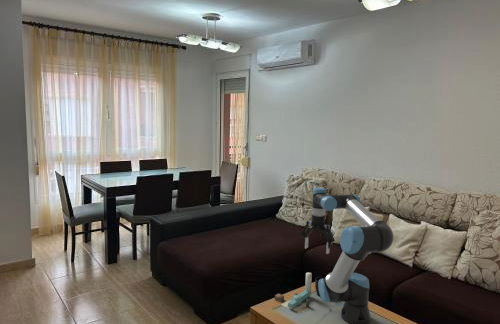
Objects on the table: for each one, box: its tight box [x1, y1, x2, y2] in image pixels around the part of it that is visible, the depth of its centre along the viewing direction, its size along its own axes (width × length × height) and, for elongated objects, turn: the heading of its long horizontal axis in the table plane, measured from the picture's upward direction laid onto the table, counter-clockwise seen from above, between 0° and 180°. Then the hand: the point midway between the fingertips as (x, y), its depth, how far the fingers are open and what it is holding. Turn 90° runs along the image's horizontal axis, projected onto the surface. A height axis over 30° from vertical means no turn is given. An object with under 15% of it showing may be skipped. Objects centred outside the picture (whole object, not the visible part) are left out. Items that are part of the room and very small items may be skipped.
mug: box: [314, 276, 326, 297], centre depth 216 cm, size 8×12×10 cm
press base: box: [280, 292, 313, 314], centre depth 201 cm, size 14×11×5 cm
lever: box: [288, 272, 313, 309], centre depth 203 cm, size 5×21×13 cm, turn 142°
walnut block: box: [274, 293, 285, 303], centre depth 207 cm, size 4×4×4 cm
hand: (316, 250), depth 209 cm, fingers open, 13 cm apart
